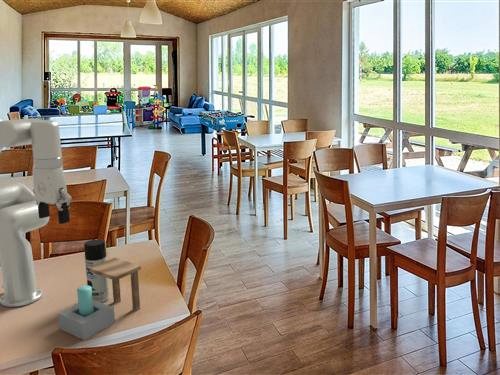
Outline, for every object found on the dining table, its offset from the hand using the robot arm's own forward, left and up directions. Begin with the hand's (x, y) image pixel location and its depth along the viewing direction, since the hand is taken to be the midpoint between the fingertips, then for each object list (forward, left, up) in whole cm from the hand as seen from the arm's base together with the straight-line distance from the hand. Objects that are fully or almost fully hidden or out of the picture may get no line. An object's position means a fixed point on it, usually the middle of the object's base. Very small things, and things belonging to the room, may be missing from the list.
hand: (54, 220), depth 134 cm
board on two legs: (+13, +11, -30) cm, 35 cm away
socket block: (+13, -1, -30) cm, 33 cm away
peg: (+13, -1, -30) cm, 33 cm away
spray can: (+2, +12, -31) cm, 33 cm away
